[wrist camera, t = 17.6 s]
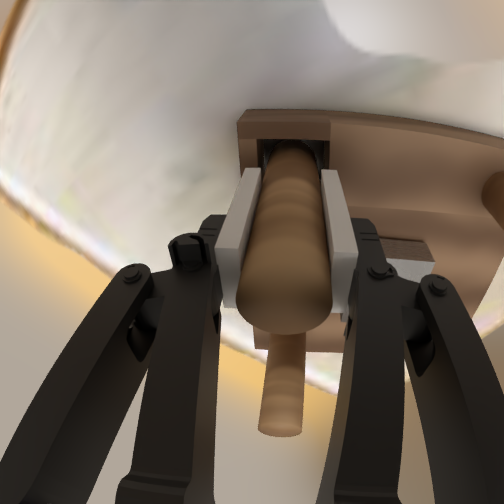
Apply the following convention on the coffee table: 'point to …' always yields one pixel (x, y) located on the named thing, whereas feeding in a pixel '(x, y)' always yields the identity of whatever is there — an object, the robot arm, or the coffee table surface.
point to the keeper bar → (408, 258)
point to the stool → (386, 216)
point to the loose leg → (287, 248)
